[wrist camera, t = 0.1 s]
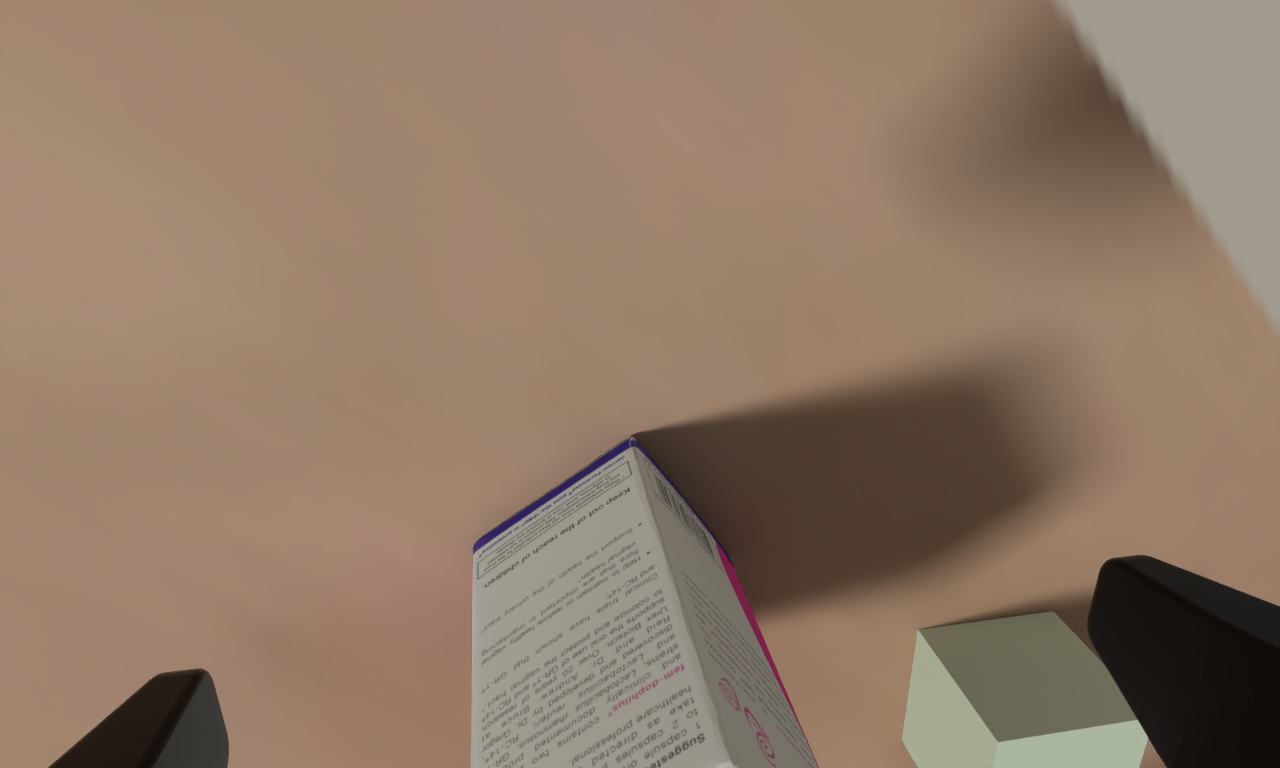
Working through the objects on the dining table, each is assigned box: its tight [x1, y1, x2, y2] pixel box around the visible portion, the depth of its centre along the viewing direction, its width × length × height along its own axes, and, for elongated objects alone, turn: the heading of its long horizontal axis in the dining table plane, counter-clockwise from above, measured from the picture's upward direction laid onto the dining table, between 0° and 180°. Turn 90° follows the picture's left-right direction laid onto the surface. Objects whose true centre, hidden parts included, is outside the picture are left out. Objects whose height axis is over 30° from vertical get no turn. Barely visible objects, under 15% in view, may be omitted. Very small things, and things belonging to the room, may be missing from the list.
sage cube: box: [902, 611, 1148, 768], centre depth 28 cm, size 5×5×5 cm
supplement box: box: [471, 436, 819, 768], centre depth 21 cm, size 6×6×12 cm
